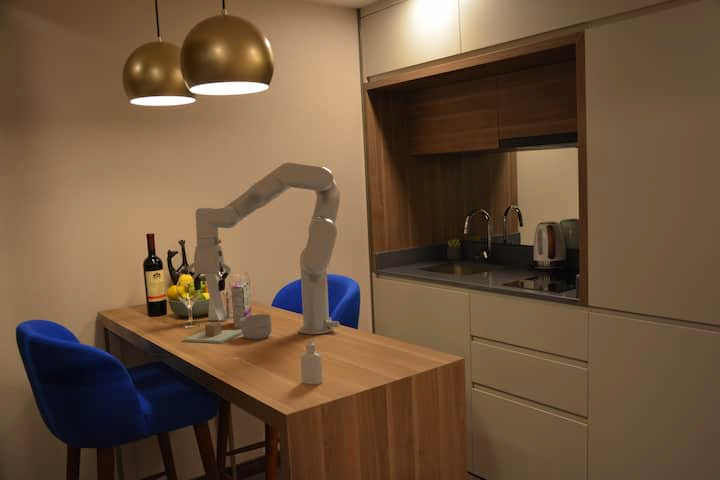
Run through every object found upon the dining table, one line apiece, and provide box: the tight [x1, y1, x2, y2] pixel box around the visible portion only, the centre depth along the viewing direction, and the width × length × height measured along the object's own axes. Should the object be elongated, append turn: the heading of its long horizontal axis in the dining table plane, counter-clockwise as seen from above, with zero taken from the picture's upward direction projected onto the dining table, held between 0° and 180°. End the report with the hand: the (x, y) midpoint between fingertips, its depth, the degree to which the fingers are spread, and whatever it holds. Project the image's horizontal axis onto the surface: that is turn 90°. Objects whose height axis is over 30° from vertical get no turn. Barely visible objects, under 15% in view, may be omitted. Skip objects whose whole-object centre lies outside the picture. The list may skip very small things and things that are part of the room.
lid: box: [183, 321, 242, 344], centre depth 228 cm, size 15×15×5 cm
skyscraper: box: [205, 271, 233, 322], centre depth 259 cm, size 8×8×28 cm
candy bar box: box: [230, 281, 252, 329], centre depth 246 cm, size 11×5×16 cm, turn 179°
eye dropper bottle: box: [300, 339, 323, 385], centre depth 174 cm, size 4×6×12 cm
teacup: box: [240, 313, 273, 341], centre depth 227 cm, size 14×11×8 cm
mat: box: [180, 333, 243, 345], centre depth 228 cm, size 17×17×1 cm
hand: (209, 290), depth 227 cm, fingers open, 9 cm apart
